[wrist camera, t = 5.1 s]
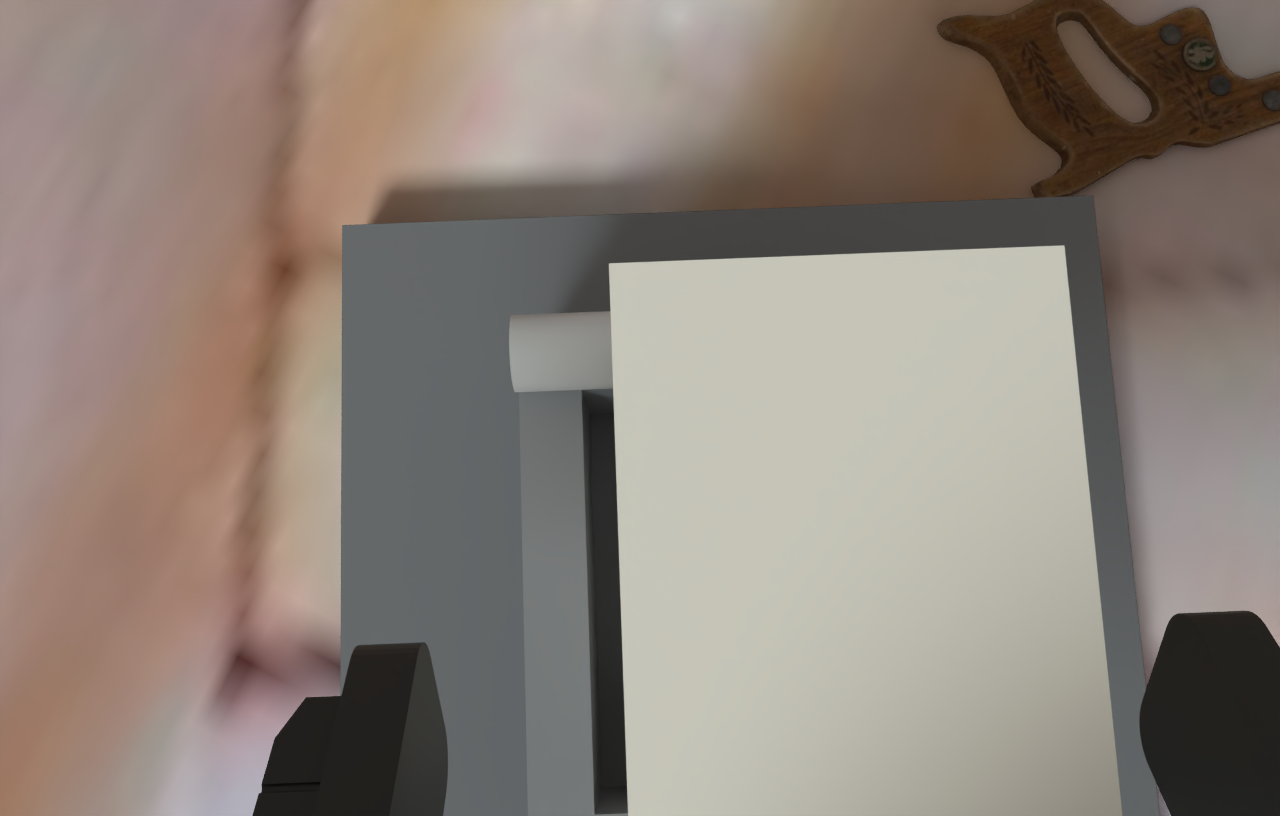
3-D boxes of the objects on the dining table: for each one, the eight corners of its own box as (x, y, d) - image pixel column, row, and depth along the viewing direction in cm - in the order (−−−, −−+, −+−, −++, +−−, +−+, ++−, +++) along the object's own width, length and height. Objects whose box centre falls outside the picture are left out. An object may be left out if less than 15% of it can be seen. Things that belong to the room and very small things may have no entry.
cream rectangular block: (826, 446, 21) (1064, 245, 9) (845, 733, 20) (1134, 935, 8) (632, 454, 21) (608, 263, 9) (643, 740, 20) (632, 955, 8)
